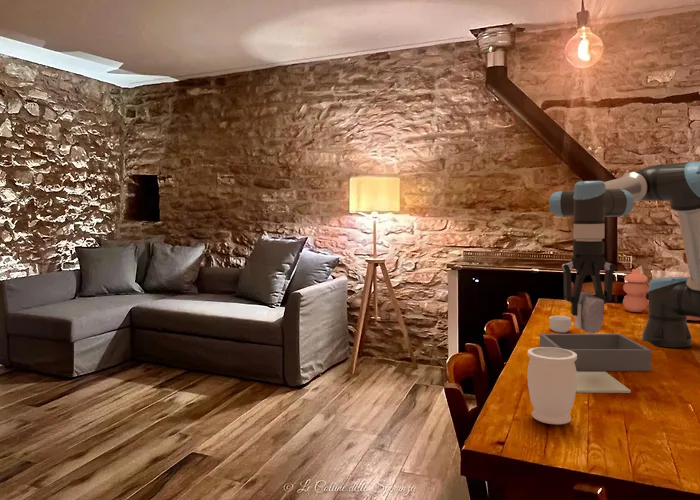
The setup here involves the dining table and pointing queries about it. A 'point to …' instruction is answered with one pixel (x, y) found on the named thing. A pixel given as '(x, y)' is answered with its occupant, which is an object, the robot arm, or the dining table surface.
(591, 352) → the access frame
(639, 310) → the ceramic vessels
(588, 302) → the stone block
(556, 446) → the dining table surface
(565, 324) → the teacup
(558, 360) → the jar
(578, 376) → the board
